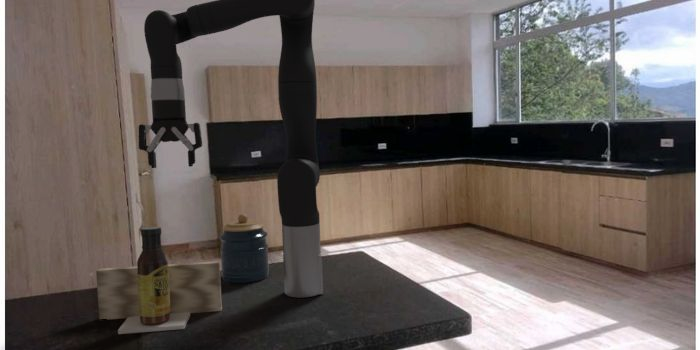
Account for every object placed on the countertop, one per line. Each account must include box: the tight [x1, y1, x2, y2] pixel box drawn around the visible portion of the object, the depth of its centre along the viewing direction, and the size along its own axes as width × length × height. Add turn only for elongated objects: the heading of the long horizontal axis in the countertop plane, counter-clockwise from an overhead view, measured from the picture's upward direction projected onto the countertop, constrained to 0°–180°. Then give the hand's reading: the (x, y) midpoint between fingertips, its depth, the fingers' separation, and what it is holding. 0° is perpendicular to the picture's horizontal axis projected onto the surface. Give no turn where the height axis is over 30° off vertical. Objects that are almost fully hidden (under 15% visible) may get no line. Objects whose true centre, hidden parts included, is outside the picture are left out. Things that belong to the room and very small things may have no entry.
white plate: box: [117, 312, 191, 335], centre depth 113 cm, size 13×8×1 cm, turn 98°
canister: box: [219, 213, 270, 284], centre depth 148 cm, size 13×13×18 cm
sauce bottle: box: [136, 225, 170, 325], centre depth 113 cm, size 7×6×20 cm
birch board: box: [95, 260, 223, 320], centre depth 119 cm, size 26×2×11 cm, turn 98°
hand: (172, 167), depth 129 cm, fingers open, 8 cm apart
